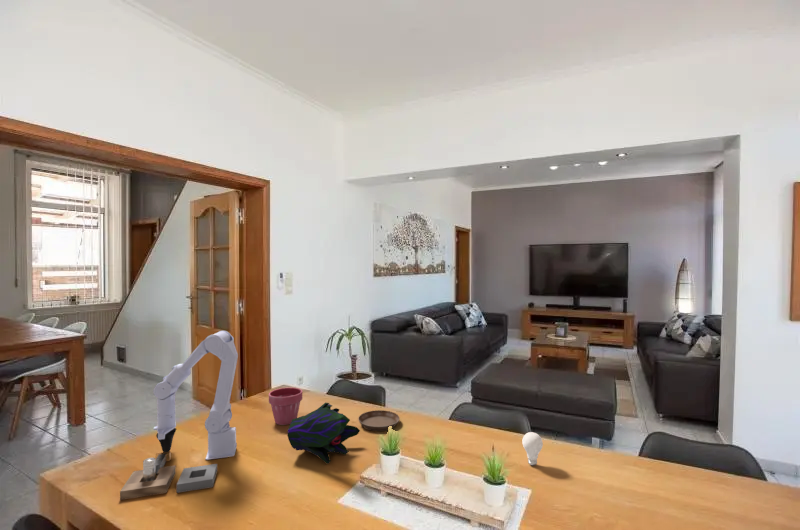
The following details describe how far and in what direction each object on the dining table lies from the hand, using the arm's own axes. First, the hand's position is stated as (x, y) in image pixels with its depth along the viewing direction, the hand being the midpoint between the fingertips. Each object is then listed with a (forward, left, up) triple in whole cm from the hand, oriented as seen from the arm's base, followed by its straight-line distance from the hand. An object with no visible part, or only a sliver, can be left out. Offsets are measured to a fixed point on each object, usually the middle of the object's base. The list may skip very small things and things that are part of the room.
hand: (166, 451), depth 145 cm
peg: (0, +21, -1) cm, 21 cm away
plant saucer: (-80, -3, -2) cm, 80 cm away
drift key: (0, +9, -1) cm, 9 cm away
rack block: (-14, +23, -1) cm, 27 cm away
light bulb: (-121, +47, -2) cm, 130 cm away
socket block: (0, +21, -1) cm, 21 cm away
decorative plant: (-56, +18, -2) cm, 59 cm away
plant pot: (-42, -19, -2) cm, 46 cm away
